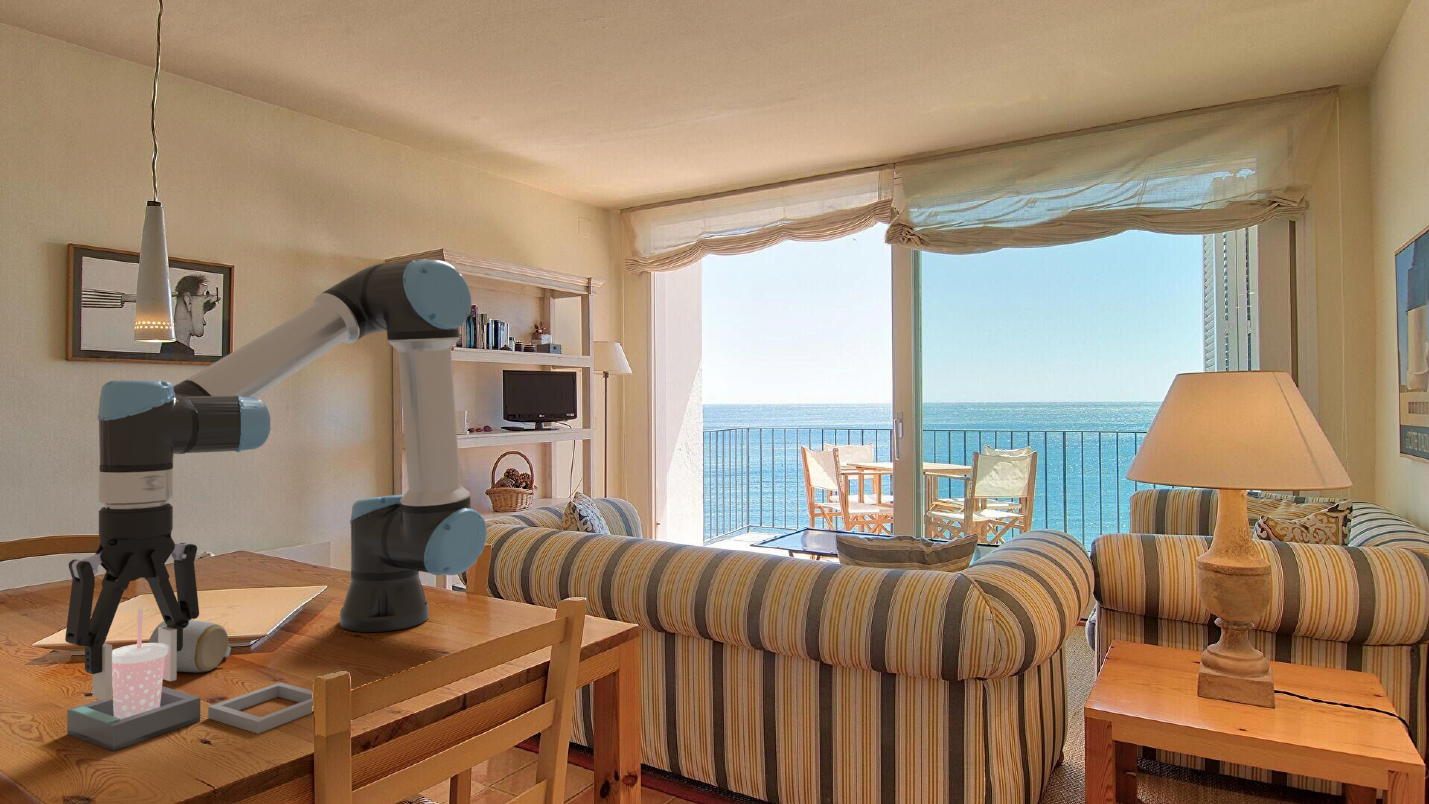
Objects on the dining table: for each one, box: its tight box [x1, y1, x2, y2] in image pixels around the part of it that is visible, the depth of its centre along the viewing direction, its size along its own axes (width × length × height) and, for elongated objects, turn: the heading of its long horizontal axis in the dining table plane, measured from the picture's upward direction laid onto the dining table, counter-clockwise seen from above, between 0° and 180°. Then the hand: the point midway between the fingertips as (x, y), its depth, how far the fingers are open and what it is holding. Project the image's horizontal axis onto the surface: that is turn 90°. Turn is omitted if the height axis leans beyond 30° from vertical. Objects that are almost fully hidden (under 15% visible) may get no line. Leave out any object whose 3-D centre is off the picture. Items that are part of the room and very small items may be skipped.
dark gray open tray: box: [66, 685, 201, 752], centre depth 101 cm, size 10×10×3 cm
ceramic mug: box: [148, 619, 232, 674], centre depth 124 cm, size 11×8×8 cm
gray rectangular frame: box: [207, 681, 313, 735], centre depth 107 cm, size 10×10×2 cm
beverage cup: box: [112, 608, 168, 719], centre depth 101 cm, size 6×6×14 cm
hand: (135, 687), depth 101 cm, fingers open, 7 cm apart
